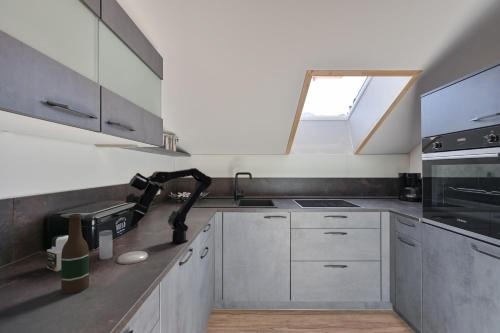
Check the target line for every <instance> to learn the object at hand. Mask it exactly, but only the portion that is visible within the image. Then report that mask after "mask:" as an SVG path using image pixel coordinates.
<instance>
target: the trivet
mask: <svg viewBox="0 0 500 333" xmlns="http://www.w3.org/2000/svg"><path fill="white" fill-rule="evenodd" d="M148 258H149V254H148V253H147V252H146V251H141V250H139V251H136V250H135V251H129V252H125V253H123V254H121V255H119V257H118V258H117V260H116V262H117V263H118V264H121V265H132V264H133V265H134V264H137V263H141V262H144V261H146V260H148Z"/></svg>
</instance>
